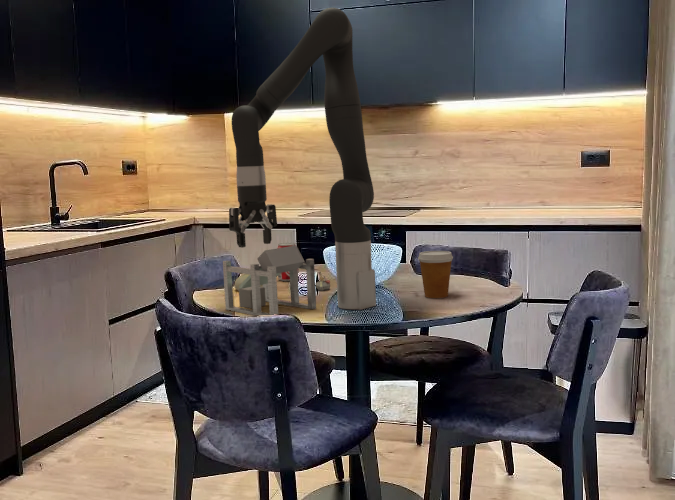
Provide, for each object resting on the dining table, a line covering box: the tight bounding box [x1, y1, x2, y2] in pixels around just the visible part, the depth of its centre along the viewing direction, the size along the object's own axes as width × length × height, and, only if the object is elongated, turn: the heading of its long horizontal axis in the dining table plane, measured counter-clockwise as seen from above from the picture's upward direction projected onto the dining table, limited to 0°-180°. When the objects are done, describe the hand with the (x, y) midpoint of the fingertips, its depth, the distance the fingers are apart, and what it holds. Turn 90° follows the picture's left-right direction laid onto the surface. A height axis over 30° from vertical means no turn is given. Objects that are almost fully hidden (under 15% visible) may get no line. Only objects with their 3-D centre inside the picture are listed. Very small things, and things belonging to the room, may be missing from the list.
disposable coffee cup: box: [417, 250, 454, 299], centre depth 185 cm, size 10×10×12 cm
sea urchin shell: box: [234, 274, 263, 292], centre depth 207 cm, size 9×8×8 cm
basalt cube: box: [238, 287, 267, 310], centre depth 183 cm, size 5×5×5 cm
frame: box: [222, 258, 317, 316], centre depth 177 cm, size 20×14×13 cm
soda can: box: [277, 242, 300, 282], centre depth 221 cm, size 7×7×12 cm
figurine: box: [315, 271, 331, 292], centre depth 202 cm, size 5×4×6 cm
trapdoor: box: [239, 245, 306, 289], centre depth 176 cm, size 15×11×5 cm
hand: (254, 245), depth 179 cm, fingers open, 8 cm apart
